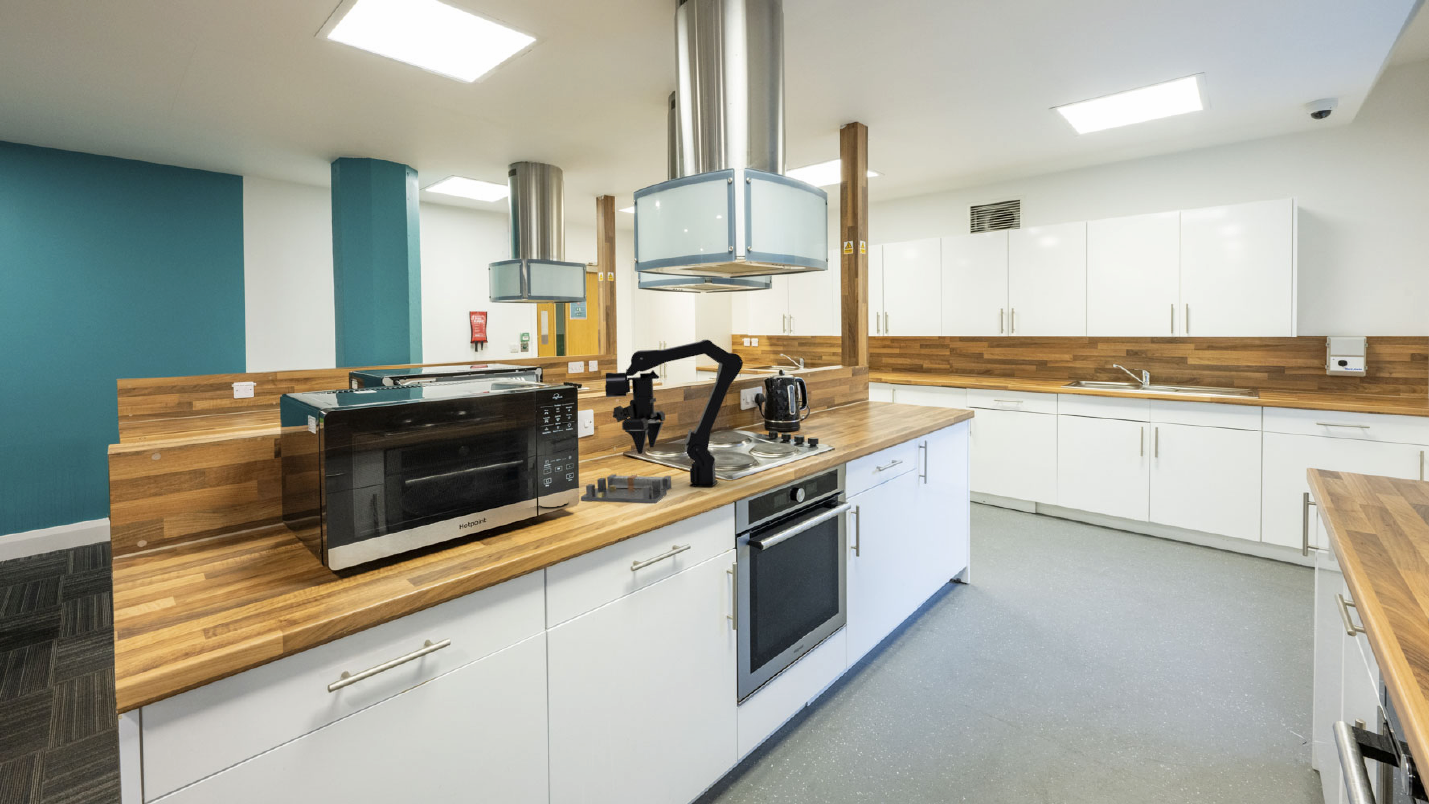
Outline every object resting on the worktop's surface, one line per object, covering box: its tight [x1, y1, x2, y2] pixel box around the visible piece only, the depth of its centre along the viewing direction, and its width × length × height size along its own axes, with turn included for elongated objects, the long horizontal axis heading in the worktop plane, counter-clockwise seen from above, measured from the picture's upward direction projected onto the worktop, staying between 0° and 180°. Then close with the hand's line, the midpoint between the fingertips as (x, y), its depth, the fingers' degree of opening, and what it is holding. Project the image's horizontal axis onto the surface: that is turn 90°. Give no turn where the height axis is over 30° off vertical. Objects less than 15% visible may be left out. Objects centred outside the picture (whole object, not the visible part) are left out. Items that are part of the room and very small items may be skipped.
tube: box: [606, 473, 672, 492], centre depth 171 cm, size 18×3×3 cm, turn 76°
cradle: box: [580, 477, 667, 504], centre depth 161 cm, size 21×9×4 cm, turn 76°
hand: (646, 450), depth 169 cm, fingers open, 9 cm apart
